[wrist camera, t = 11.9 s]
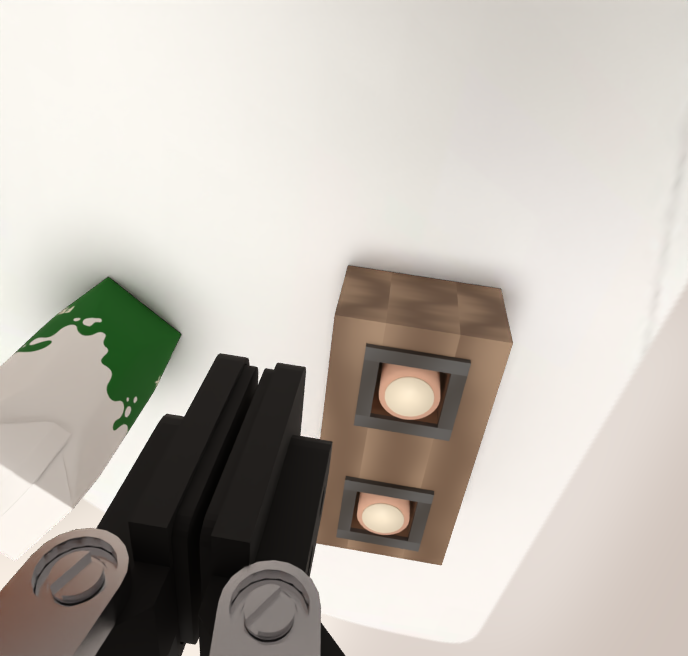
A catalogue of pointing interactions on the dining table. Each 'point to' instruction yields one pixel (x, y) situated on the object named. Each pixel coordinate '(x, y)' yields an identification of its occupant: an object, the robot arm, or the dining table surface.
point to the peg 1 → (409, 391)
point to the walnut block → (401, 434)
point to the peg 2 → (383, 513)
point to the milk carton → (73, 406)
